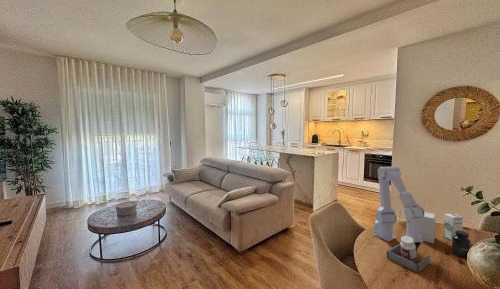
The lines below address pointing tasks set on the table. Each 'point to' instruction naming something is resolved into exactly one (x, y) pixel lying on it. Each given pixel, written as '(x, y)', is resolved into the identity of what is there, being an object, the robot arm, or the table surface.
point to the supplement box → (428, 227)
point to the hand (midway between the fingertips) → (412, 254)
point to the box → (411, 265)
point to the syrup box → (452, 225)
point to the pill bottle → (408, 248)
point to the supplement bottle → (461, 244)
